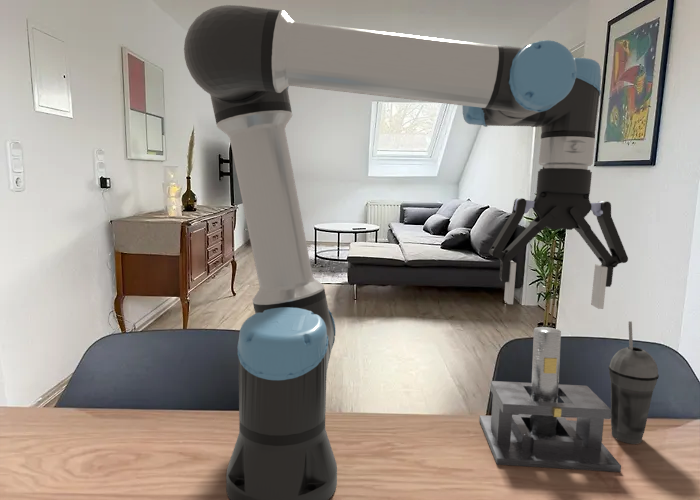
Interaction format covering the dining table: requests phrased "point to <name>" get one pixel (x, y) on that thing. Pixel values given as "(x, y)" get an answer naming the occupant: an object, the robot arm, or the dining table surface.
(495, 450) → the grey holder stand
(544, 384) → the silver metal cylinder
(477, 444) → the dining table surface
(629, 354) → the beverage cup
